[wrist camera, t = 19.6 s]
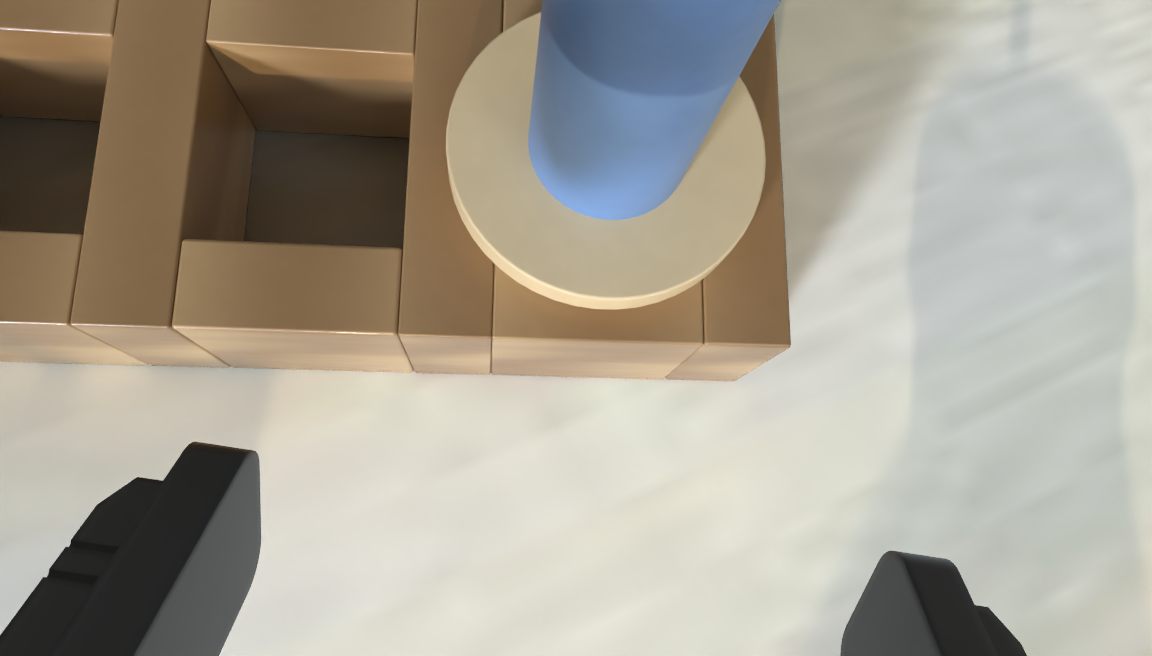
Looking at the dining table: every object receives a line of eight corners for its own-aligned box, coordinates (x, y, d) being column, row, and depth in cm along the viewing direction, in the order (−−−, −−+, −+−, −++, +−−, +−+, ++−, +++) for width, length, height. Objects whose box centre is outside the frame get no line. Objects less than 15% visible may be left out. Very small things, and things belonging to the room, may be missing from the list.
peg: (413, 292, 20) (289, -116, 7) (505, 63, 22) (532, -592, 9) (671, 382, 20) (981, 133, 8) (743, 148, 22) (1098, -381, 9)
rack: (-130, 357, 19) (-287, 314, 15) (-65, 45, 21) (-190, -65, 17) (736, 381, 21) (792, 347, 17) (726, 93, 23) (774, 3, 19)
